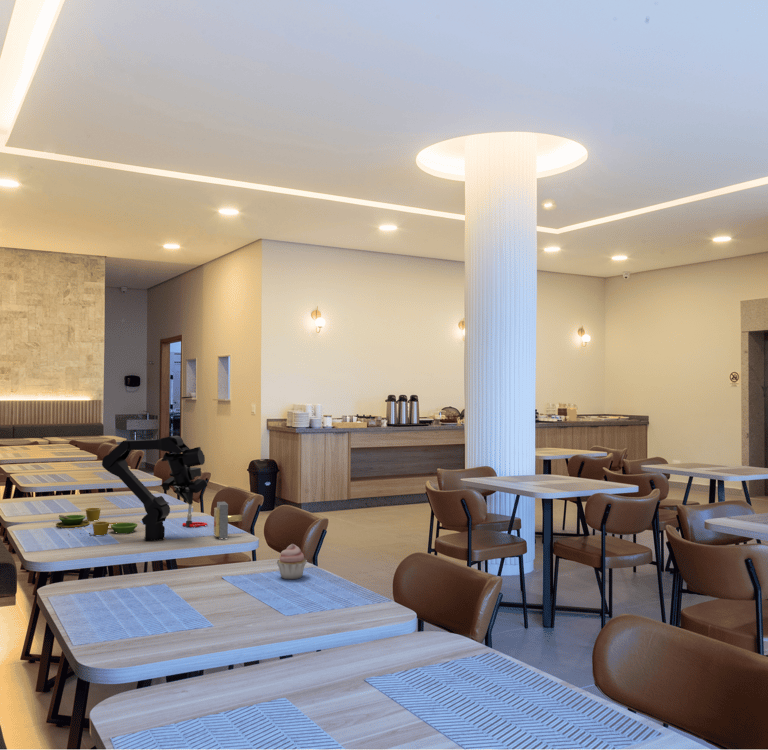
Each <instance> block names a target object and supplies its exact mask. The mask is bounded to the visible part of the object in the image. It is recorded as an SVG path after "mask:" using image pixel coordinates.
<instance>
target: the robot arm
mask: <svg viewBox="0 0 768 750" xmlns="http://www.w3.org/2000/svg"><path fill="white" fill-rule="evenodd" d="M142 450H144V451H146V450H157V451H163V452H165V453H164V454H163V457H162V458H161V462H166V461H167V463H168V466H169V469H170V471H171V473H169V476H170V477H169V478H168V479H166V480H165V481H163V482H162V484H161V487H162V490H163V491H169V490H170V489H171V487H173V488H174V491H173V492H174V493H175V494H177V495H178V497H180V498H182V499H183V500H184V501H185V502H186V503H187V504H188V505H189V504H190V505H191V504H192V505H193V504H194V502H193V500H194V494H197V493H200V492H202V490H203V489H205V488H206V487H208V482H207V480H206V479H202V478H197V479H195V478H196V477H201V476H202V468H201V467H198V466H203V465H204V464H205V457H206V456H205V454H204V452H203V451H202V449H201V447H200V446H197V447H194V448H190V447H189V446H188V445H187V444H186V443H185V442H184V440H183V438H182V437H181V436H180V435H171V436H165V437H161V438H158V439H136V440H132V439H126V440H123V441H122V440H121V442H120V443H119V444H118V446H117V447H115V448H114V449H113V450H111V451H110V452H109V453H108V454H106V455H105V456H103V458H102V461H101V466H102V468H104V469H105V470H106V471H107V472H108V473H110V474H112V475H113V476H116V477H117V478H119V479H120V481H122V483H124V485H125V486H126V488H128V489H129V490H130V491H131V492H132V494H134V495H135V497H136V498H137V499H138V500H139V501H140V503H142V504H143V507H144V511H145V513H146V514H145V515H144V516H143V517H142V518H141V522H142V525H144V526H145V528H144V529H145V530H144V541H145V542H151V541H153V542H155V541H154V540H156V541H164V538H165V535H166V533H165V530H166V529H165V525H164V522H165V521H166V519H167V517H168V516H169V515H170V512H171V507H170V505H169V504H170V502H168V501H167V500H165V497H163V496H162V495H159V496H155V495H153V493H152V492H151V491H150V490H149V489H148V488H147V487H146V486H145V485H144V484H143V482H142V481H140V479H139V478H138V476H136V475H135V474H134V473H133V472H132V471H131V470H130V468H129V465H128V462H127V459H128V457H129V456H130V454H131V452H132V451H142ZM171 452H172V453H171Z"/></svg>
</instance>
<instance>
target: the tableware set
mask: <svg viewBox="0 0 768 750" xmlns="http://www.w3.org/2000/svg"><path fill="white" fill-rule="evenodd" d="M101 509H102V508H100V507H89V508H86V509H85V514H86V515H83V514H69V515H65V514H64V515H63V514H58V517H59V518H58V519H59V521H54V522H53V523H57V524H55V526H56V527H58V528H60V527H62V528H61V529H67V530H69V529H70V530H69V531H75V530H74V529H79V530H83V529H82V528H85V529H84V530H87V529H86V528H90V529H93V535H94V536H95V535H103V536H105V535H104V534H107V535H108V531H109V530H108V529H113V532H114V533H115V532H117V533H116V534H118V533H125V534H129V533H128V532H131V533H134V531H135V529H136V528H137V527H138V525H139V524H138V523H135V522H123V521H121V522H120V521H118V522H117V521H115V522H109V521H104V520H103V521H99V520H100V514H101ZM84 519H86V520H84ZM98 519H99V520H98ZM94 520H98V521H94ZM90 522H92V527H90V526H89V524H90ZM53 523H52V524H53ZM116 523H117V524H116ZM109 524H113V525H111V528H108V526H109ZM83 526H84V527H83ZM87 526H89V527H87ZM75 527H78V528H75Z"/></svg>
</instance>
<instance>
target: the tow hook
mask: <svg viewBox="0 0 768 750" xmlns="http://www.w3.org/2000/svg"><path fill="white" fill-rule="evenodd" d="M192 505H193V503H192V504H191V505H190V504H188V511H187V518H186V521H185V522H183V523H182V527H185V526H186V527H185V528H191V527H193V528H192V529H195V528H199V526H204V527H206V526H205V525H207V526H208V522H202V521H193V520H192ZM194 527H195V528H194Z"/></svg>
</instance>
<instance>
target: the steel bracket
mask: <svg viewBox="0 0 768 750" xmlns="http://www.w3.org/2000/svg"><path fill="white" fill-rule="evenodd" d="M216 508H218V509H219V510H220V514H219V536H218V537H219V538H228V534H229V533H228V531H229V530H228V528H229V525H228V524H229V522H228V515H229V504H228V503H227V502H226V501H217V502H216ZM218 537H217V538H218ZM219 538H218V539H219Z"/></svg>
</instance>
